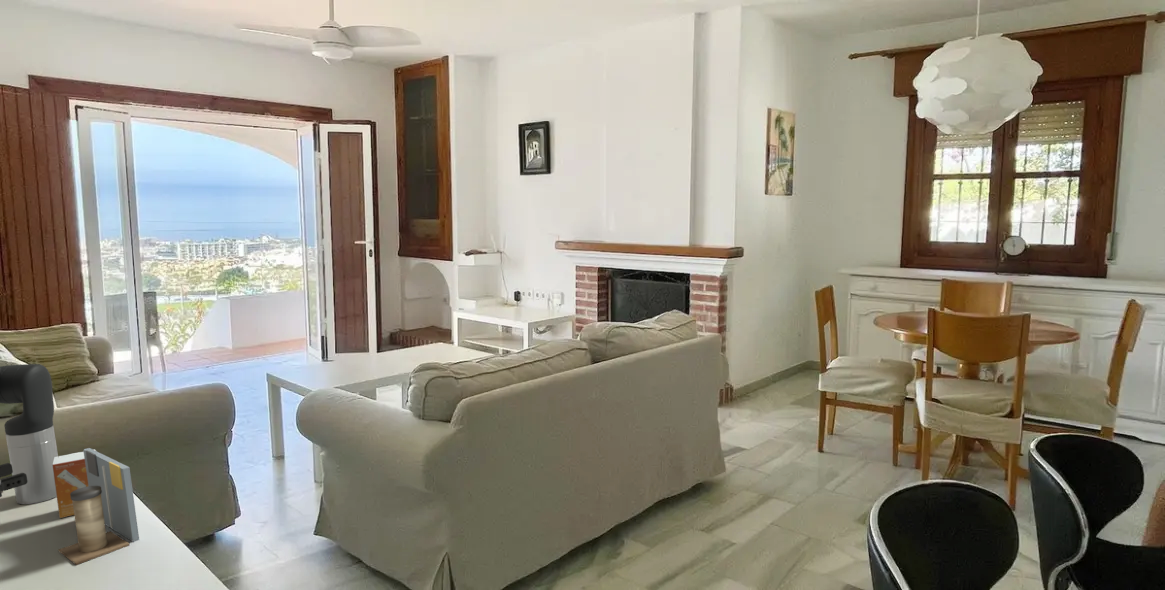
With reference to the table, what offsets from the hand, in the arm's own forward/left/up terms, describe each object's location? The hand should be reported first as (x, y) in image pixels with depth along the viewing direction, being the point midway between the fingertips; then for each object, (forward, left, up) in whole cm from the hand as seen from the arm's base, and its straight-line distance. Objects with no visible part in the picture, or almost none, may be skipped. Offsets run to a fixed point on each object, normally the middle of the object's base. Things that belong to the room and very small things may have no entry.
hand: (18, 472), depth 135 cm
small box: (-25, +16, -20) cm, 36 cm away
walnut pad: (0, +10, -20) cm, 22 cm away
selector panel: (-7, +17, -20) cm, 27 cm away
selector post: (0, +10, -20) cm, 22 cm away
